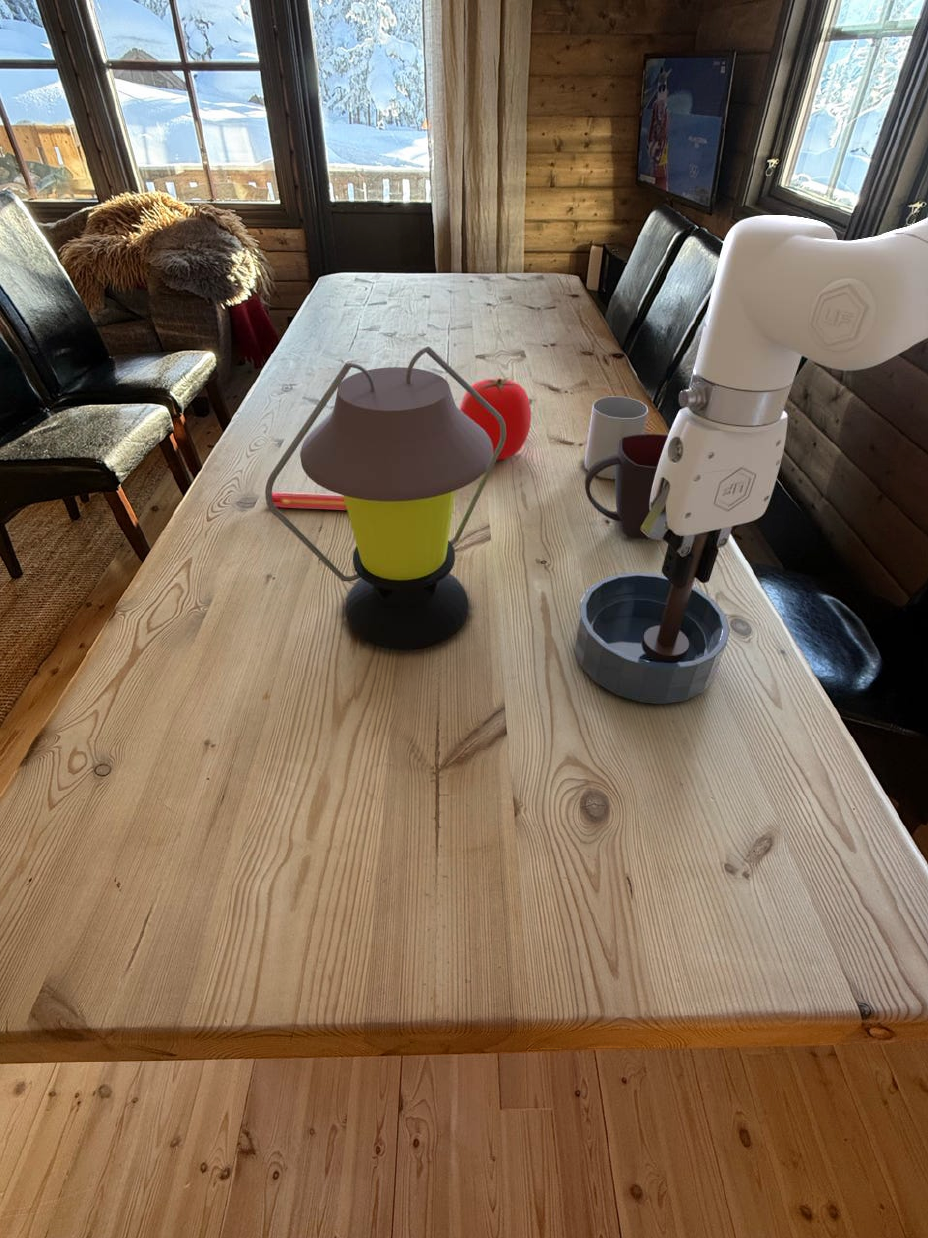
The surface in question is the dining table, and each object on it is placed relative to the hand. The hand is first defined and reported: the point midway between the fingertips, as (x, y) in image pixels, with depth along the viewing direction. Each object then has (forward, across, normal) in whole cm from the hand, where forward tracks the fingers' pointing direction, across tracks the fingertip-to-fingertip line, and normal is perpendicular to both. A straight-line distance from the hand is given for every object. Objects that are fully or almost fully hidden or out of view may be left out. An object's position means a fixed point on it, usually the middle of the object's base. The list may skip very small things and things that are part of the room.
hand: (684, 576), depth 65 cm
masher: (+10, 0, 0) cm, 10 cm away
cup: (+12, +18, +42) cm, 47 cm away
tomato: (+12, +2, +52) cm, 54 cm away
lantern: (+12, -24, +19) cm, 33 cm away
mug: (+12, +11, +25) cm, 30 cm away
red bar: (+12, -24, +43) cm, 51 cm away
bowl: (+12, -1, +2) cm, 12 cm away
